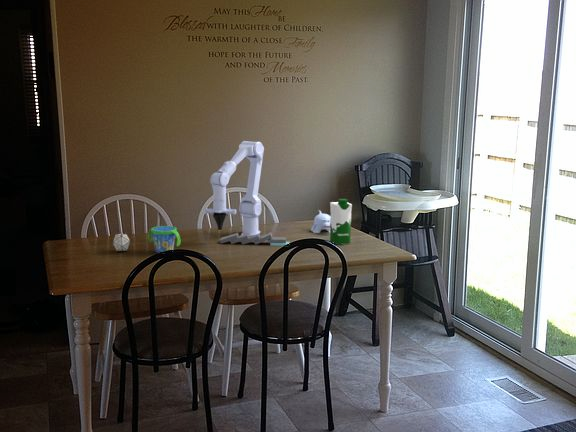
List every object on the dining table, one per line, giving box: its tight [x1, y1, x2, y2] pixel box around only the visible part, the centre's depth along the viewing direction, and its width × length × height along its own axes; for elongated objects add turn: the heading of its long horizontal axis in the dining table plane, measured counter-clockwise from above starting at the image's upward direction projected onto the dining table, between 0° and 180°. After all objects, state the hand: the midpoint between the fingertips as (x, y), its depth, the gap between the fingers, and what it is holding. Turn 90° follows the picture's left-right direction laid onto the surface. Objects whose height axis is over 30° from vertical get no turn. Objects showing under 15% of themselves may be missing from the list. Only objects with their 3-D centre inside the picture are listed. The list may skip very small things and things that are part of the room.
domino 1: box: [219, 232, 240, 244], centre depth 281 cm, size 2×5×8 cm
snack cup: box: [147, 225, 182, 254], centre depth 264 cm, size 16×10×10 cm
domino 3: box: [240, 233, 261, 245], centre depth 280 cm, size 2×5×8 cm
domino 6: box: [269, 241, 291, 247], centre depth 279 cm, size 2×5×8 cm
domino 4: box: [253, 231, 274, 246], centre depth 280 cm, size 2×5×8 cm
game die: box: [110, 232, 133, 253], centre depth 264 cm, size 9×8×10 cm
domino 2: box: [229, 233, 250, 245], centre depth 281 cm, size 2×5×8 cm
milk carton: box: [329, 198, 353, 245], centre depth 281 cm, size 9×9×20 cm
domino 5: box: [267, 236, 287, 244], centre depth 280 cm, size 2×5×8 cm
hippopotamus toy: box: [310, 209, 331, 234], centre depth 304 cm, size 11×15×10 cm
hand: (220, 229), depth 281 cm, fingers closed
